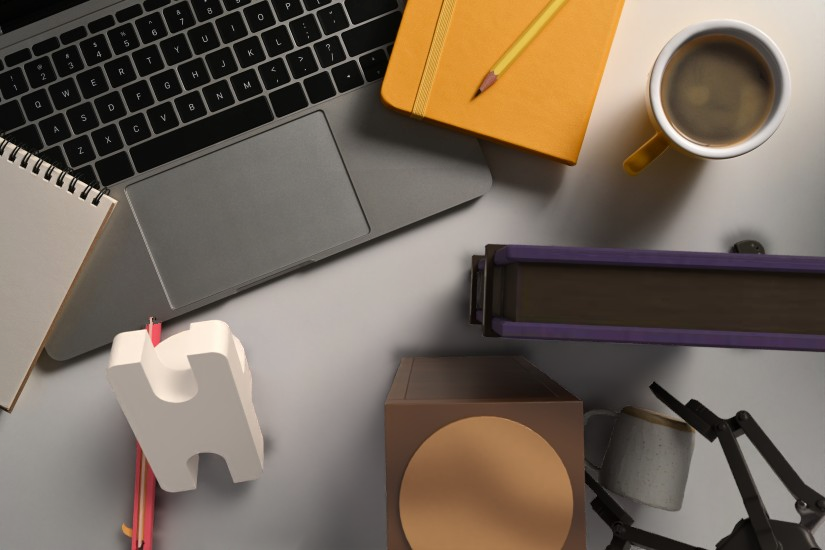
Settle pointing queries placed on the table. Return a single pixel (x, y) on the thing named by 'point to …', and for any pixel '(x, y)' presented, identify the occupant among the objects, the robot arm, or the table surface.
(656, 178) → the table surface
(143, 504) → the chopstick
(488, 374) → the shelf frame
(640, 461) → the ceramic mug
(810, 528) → the robot arm
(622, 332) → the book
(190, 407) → the white slotted bracket
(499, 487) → the brown square coaster
